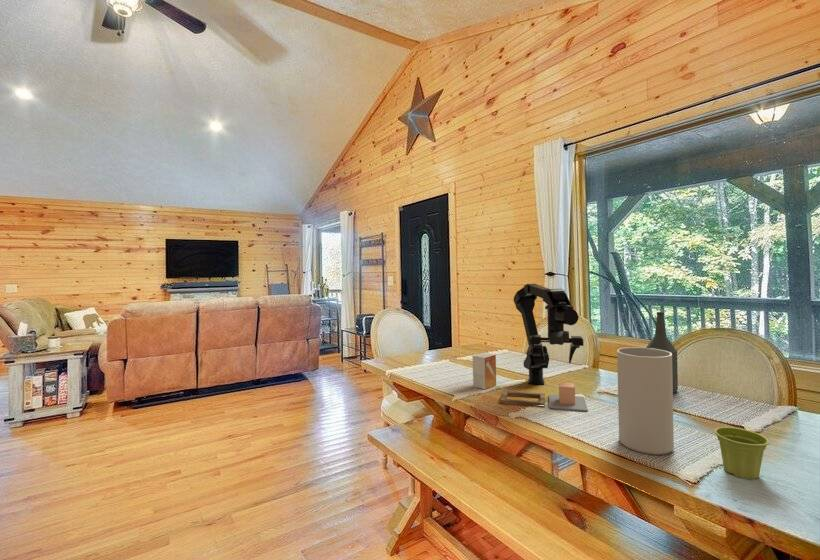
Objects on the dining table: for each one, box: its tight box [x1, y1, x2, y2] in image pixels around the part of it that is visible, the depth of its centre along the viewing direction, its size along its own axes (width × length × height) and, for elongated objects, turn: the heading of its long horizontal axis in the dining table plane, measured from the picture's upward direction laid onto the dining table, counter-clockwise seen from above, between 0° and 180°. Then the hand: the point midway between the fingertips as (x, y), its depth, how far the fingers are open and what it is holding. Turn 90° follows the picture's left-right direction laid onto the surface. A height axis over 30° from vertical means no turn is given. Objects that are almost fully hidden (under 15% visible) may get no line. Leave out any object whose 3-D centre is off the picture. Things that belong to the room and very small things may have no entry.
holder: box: [500, 390, 546, 407], centre depth 142 cm, size 11×15×1 cm
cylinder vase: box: [616, 347, 675, 455], centre depth 103 cm, size 12×12×25 cm
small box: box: [472, 352, 497, 390], centre depth 160 cm, size 8×6×13 cm
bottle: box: [645, 311, 679, 393], centre depth 148 cm, size 10×10×30 cm
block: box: [558, 382, 576, 405], centre depth 137 cm, size 5×5×6 cm
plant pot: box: [714, 426, 770, 480], centre depth 88 cm, size 9×9×9 cm
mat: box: [548, 394, 589, 413], centre depth 137 cm, size 14×12×1 cm
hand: (556, 362), depth 147 cm, fingers open, 9 cm apart
